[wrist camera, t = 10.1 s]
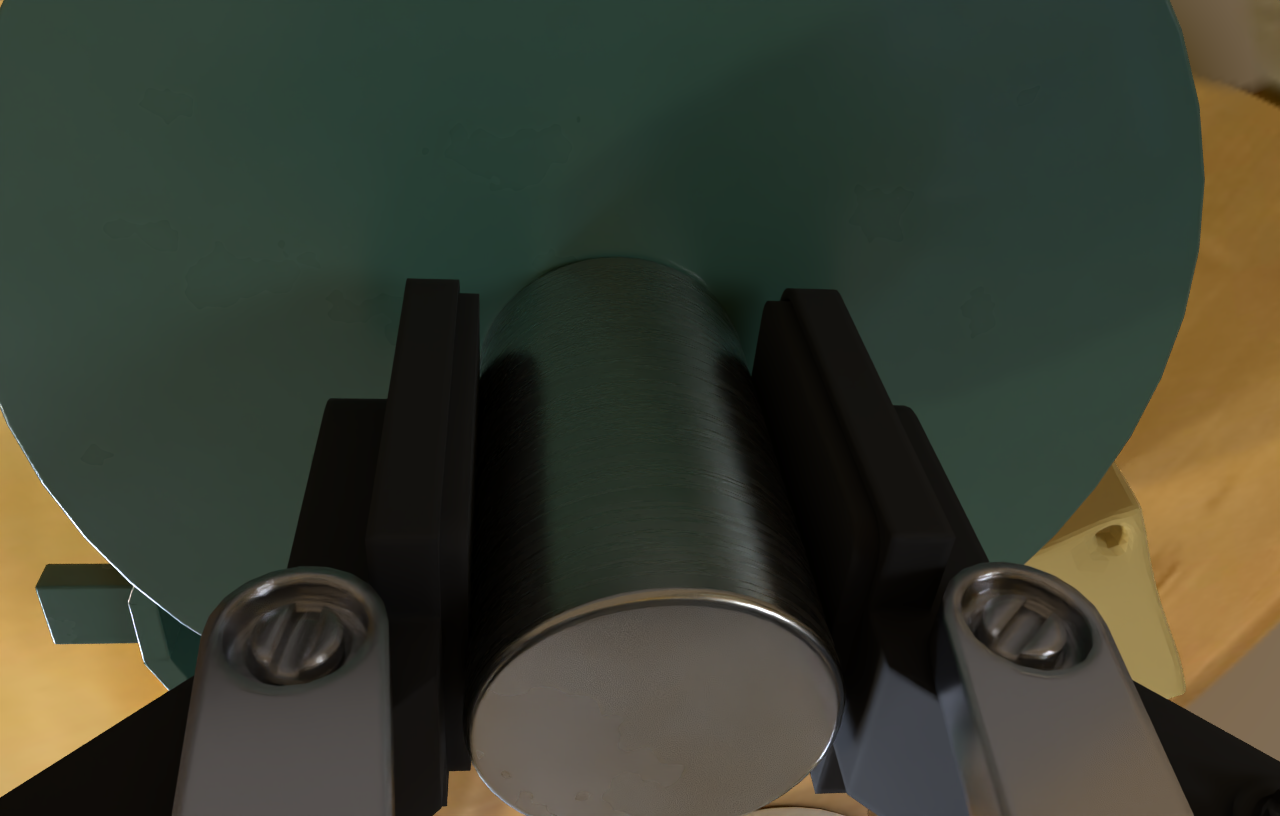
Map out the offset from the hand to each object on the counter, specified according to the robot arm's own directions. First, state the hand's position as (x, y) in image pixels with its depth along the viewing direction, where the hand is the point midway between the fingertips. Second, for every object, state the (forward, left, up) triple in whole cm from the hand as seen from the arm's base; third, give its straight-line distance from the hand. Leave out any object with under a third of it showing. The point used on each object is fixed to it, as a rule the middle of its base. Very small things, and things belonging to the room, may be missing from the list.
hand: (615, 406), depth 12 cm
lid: (0, 0, -1) cm, 1 cm away
